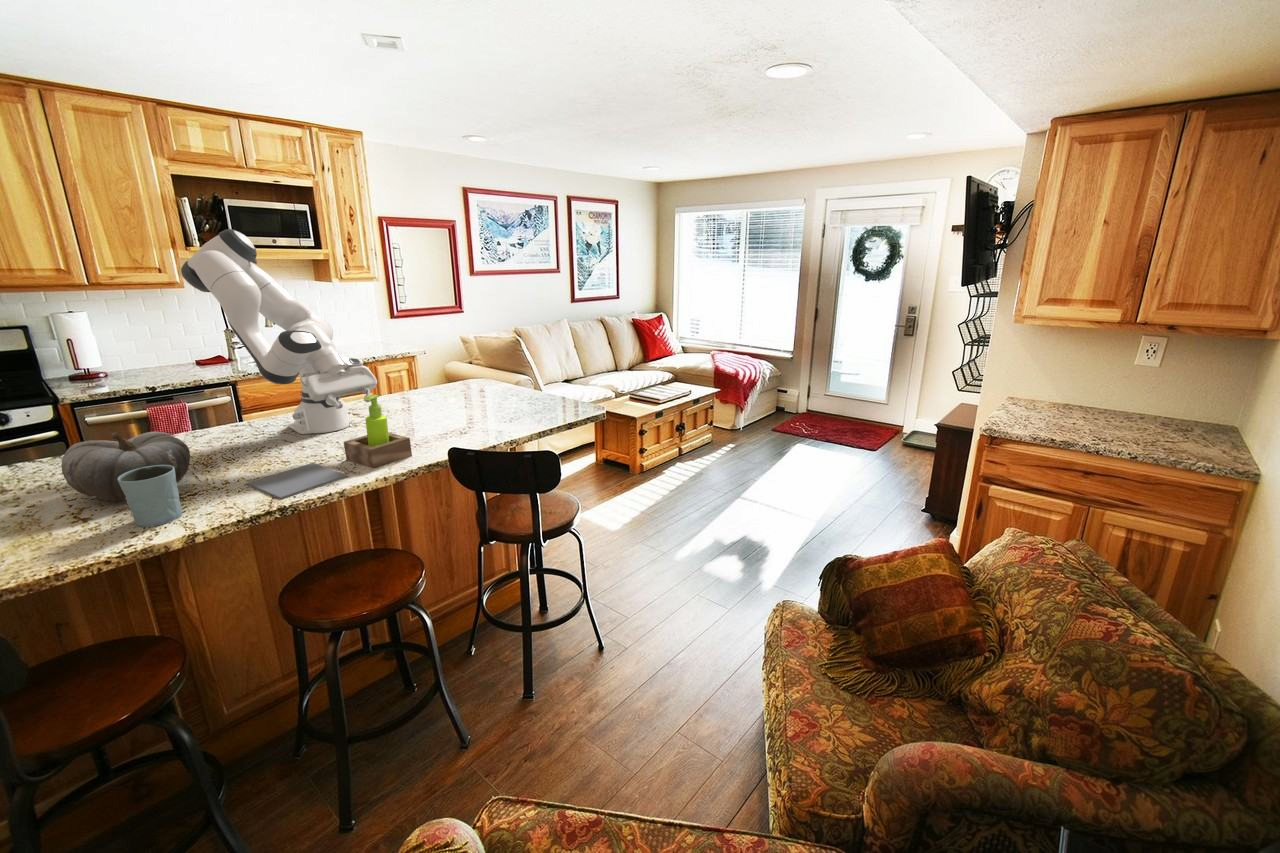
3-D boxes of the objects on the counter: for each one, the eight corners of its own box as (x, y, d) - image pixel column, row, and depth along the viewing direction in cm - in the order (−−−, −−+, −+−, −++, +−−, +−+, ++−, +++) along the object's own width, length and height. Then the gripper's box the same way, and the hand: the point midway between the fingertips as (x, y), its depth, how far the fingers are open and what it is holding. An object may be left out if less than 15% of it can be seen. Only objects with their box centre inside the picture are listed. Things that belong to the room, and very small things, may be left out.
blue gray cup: (180, 506, 138) (168, 461, 135) (191, 517, 132) (179, 471, 129) (127, 520, 131) (113, 473, 127) (136, 533, 125) (121, 484, 121)
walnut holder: (346, 460, 169) (343, 441, 167) (384, 448, 180) (382, 430, 178) (374, 469, 162) (371, 449, 160) (412, 456, 173) (409, 437, 171)
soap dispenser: (364, 461, 167) (356, 397, 162) (376, 454, 174) (369, 392, 168) (382, 462, 167) (375, 398, 161) (394, 455, 173) (388, 393, 168)
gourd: (39, 493, 139) (37, 427, 136) (153, 474, 162) (153, 416, 159) (103, 518, 132) (102, 448, 129) (212, 494, 155) (214, 434, 152)
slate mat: (246, 484, 151) (246, 482, 151) (313, 464, 166) (312, 462, 165) (280, 499, 142) (280, 497, 142) (347, 476, 156) (347, 474, 156)
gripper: (300, 368, 161) (323, 405, 159) (366, 358, 177) (388, 391, 175) (295, 381, 165) (318, 417, 163) (360, 370, 181) (381, 403, 179)
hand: (355, 404), depth 169 cm, fingers open, 8 cm apart
